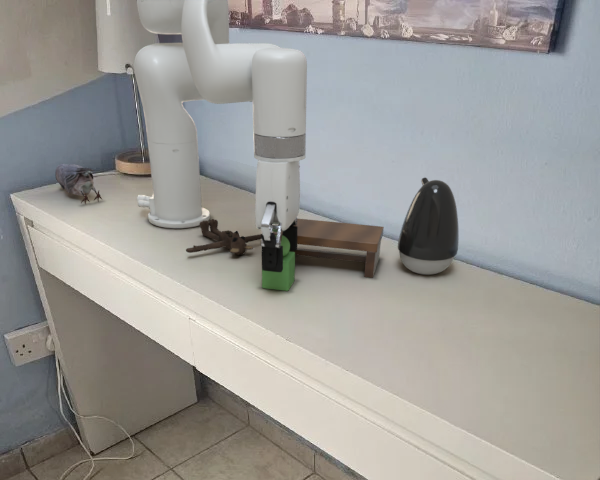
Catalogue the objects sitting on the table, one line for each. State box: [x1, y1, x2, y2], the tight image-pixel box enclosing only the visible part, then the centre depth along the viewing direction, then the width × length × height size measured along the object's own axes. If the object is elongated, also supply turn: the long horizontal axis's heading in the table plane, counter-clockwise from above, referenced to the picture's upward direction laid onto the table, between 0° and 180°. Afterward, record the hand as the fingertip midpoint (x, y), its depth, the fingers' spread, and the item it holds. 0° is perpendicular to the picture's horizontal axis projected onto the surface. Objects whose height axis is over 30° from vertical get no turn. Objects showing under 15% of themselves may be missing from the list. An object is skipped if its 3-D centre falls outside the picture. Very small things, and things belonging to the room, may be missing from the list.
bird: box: [55, 163, 103, 205], centre depth 137 cm, size 5×16×7 cm, turn 43°
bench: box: [272, 218, 384, 279], centre depth 108 cm, size 18×9×6 cm, turn 77°
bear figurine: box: [185, 218, 262, 256], centre depth 114 cm, size 18×4×14 cm
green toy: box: [261, 235, 296, 292], centre depth 99 cm, size 4×4×8 cm
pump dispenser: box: [397, 177, 460, 276], centre depth 104 cm, size 10×10×15 cm
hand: (280, 259), depth 99 cm, fingers open, 9 cm apart
